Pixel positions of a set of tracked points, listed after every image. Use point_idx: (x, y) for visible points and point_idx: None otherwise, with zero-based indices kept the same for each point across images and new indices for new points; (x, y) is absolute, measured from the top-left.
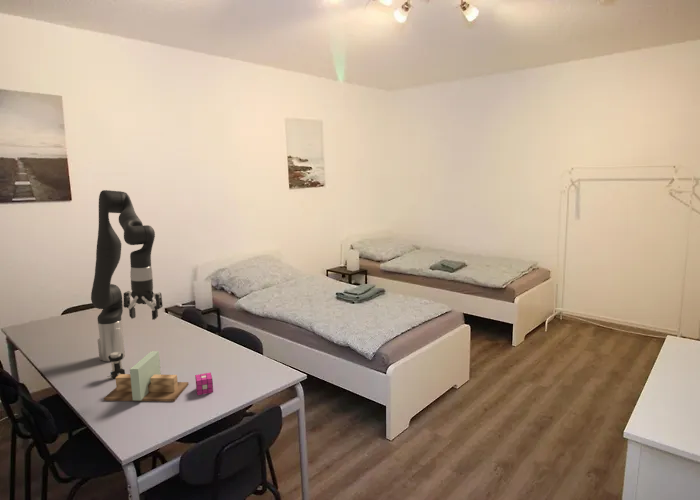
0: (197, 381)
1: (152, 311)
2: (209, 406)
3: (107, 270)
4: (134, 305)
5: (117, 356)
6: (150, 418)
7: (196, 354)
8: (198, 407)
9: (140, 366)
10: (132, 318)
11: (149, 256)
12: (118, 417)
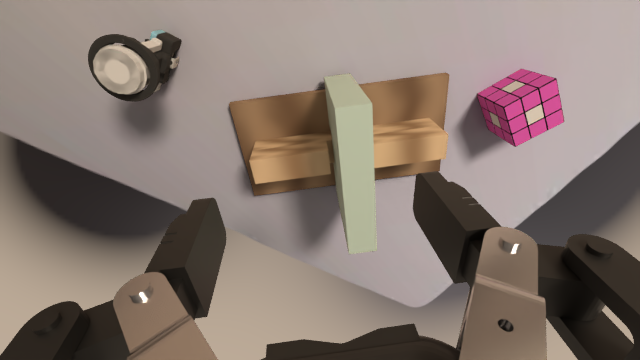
0: (517, 145)
1: (456, 274)
2: (528, 172)
3: None
4: (176, 312)
5: (144, 83)
6: (409, 230)
7: None
8: (503, 180)
9: (373, 234)
10: (223, 235)
11: None
12: (341, 238)
